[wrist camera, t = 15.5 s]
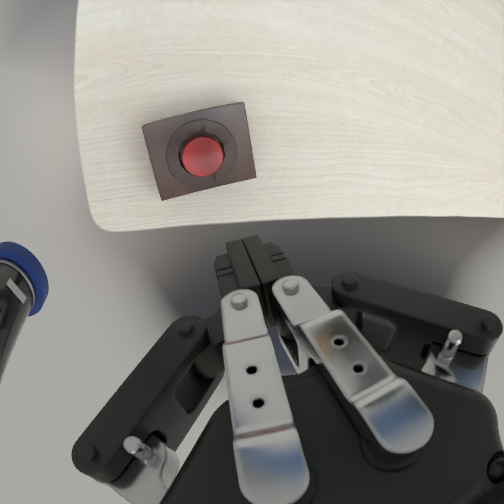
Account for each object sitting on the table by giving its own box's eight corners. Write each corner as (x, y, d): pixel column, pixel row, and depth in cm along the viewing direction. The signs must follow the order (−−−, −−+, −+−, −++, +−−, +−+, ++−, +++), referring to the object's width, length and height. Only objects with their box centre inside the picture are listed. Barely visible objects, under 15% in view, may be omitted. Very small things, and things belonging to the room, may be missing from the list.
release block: (163, 194, 30) (160, 207, 27) (144, 124, 26) (138, 127, 22) (252, 172, 31) (260, 182, 28) (239, 102, 27) (247, 102, 23)
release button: (187, 176, 26) (187, 181, 25) (178, 140, 24) (178, 143, 23) (224, 167, 26) (226, 171, 25) (216, 131, 25) (219, 133, 23)
